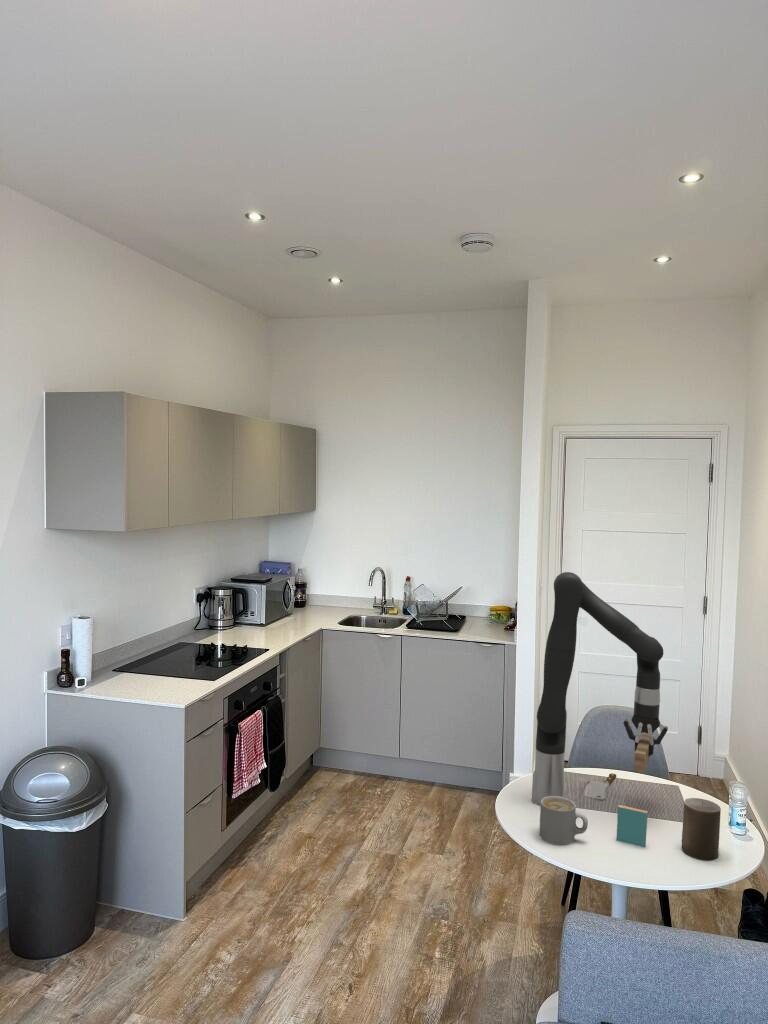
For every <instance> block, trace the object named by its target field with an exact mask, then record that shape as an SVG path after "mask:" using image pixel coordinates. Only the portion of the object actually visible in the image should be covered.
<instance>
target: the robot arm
mask: <svg viewBox="0 0 768 1024" xmlns="http://www.w3.org/2000/svg"><path fill="white" fill-rule="evenodd" d="M553 591H554V604H553V605H554V608H553V609H554V610H553V617H552V621H551V624H550V627H549V630H548V635H547V638H546V642H545V643H546V645H545V649H544V650H545V651H544V661H543V685H542V686H543V689H542V695H541V699H540V703H539V705H538V708H537V711H536V720H537V721H536V722H537V725H536V737H535V739H536V740H535V758H534V760H535V761H534V762H535V763H534V771H533V773H532V786H531V787H532V788H531V802H532V803H535V804H537V805H538V806H540V807H541V800H542V799H543V798H544V797H548V796H559V797H564V778H565V777H564V776H565V756H566V755H565V754H566V741H567V740H566V739H567V738H566V737H567V736H566V734H567V719H568V718H567V715H568V713H567V709H566V703H567V694H568V689H569V684H570V680H571V677H572V672H573V667H574V663H575V655H576V651H577V650H576V649H577V648H576V647H577V637H578V636H577V635H578V633H577V631H578V630H577V629H578V616H579V612H580V609H582V610H583V611H585V613H587V614H588V615H590V616H591V617H592V618H593V619H594V620H595V621H596V622H597V623H598V624H599V625H601V627H603V628H604V629H605V630H606V631H607V632H608V633H610V634H611V635H613V636H614V637H615V638H617V639H618V640H619V641H620V642H622V644H625V645H626V646H628V648H629V649H631V650H632V651H633V652H634V653H635V654H636V666H637V667H636V668H637V671H636V680H635V681H636V682H635V690H634V698H633V699H634V701H633V715H632V717H631V718H629V719H627V718H625V719H624V721H623V722H622V723H623V726H624V728H625V731H626V733H627V735H628V738H629V740H632V741H634V752H635V751H636V749H637V746H638V744H639V741H640V739H641V736H642V734H643V733H647V734H648V736H649V743H650V744H649V755H648V756H650V758H651V756H653V754H654V751H655V750H654V749H655V745H660V744H661V742H662V741H663V739H664V737H665V736H666V734H667V732H668V730H669V728H668V726H666V725H664V724H662V723H661V721H660V703H661V692H660V689H661V673H660V668H659V667H660V666H659V663H660V660H662V658H663V657H664V648H663V646H662V644H661V643H660V642H659V640H657V639H656V638H655V637H653V636H651V635H648V634H647V633H646V632H644V631H643V630H641V629H640V628H639V626H638V625H637V624H636V623H634V622H633V621H632V620H631V619H629V618H628V617H627V616H625V615H624V614H623V613H621V612H620V611H618V610H617V609H615V608H614V607H613V606H611V605H609V603H607V602H605V601H604V600H603V599H602V598H600V597H599V596H598V595H597V594H595V593H594V592H593V591H592V590H591V589H590V588H589V587H588V586H587V585H586V584H585V583H584V582H583V581H582V579H581V577H580V576H579V575H577V574H576V573H574V572H571V571H563V572H561V573H559V574H558V575H557V576H556V577H555V579H554V583H553ZM632 723H633V725H634V727H635V729H636V734H634V731H633V730H632ZM657 729H659V732H660V733H659V734H658V736H657V738H655V733H654V732H655V731H656V730H657Z"/></svg>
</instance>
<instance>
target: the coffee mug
mask: <svg viewBox="0 0 768 1024" xmlns="http://www.w3.org/2000/svg"><path fill="white" fill-rule="evenodd" d="M576 806H577V805H576V803H575V802H573V800H571V799H569V798H566V797H564V796H563V797H559V796H548V797H544V798H543V799H542V800H541V806H540V808H539V809H540V814H539V832H538V833H539V837H540V839H541V840H543V841H544V842H546V843H548V844H551V845H555V846H568V845H571V844H573V843H574V842H575V836H576V835H581V834H584V833H585V832H586V831H587V829H588V818H587V816H586V814H584V813H582V812H580V811H577V810H576V809H577V807H576ZM577 819H581V821H582V827H579V826H578V825H577Z"/></svg>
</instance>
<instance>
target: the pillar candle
mask: <svg viewBox="0 0 768 1024" xmlns="http://www.w3.org/2000/svg"><path fill="white" fill-rule="evenodd" d="M721 812H722V809H721V806H720V805H719V804H717V803H716V802H714V801H712V800H709V799H704V798H700V797H699V798H698V797H688V798H685V799H684V803H683V816H682V817H683V818H682V820H683V821H682V829H681V830H682V831H681V849H682V851H683V853H685V854H686V855H688V856H690V857H692V858H695V859H697V860H701V861H702V860H703V861H704V860H705V861H714V860H717V859H718V857H719V847H720V830H721V829H720V828H721Z"/></svg>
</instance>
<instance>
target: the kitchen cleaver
mask: <svg viewBox="0 0 768 1024" xmlns="http://www.w3.org/2000/svg"><path fill="white" fill-rule="evenodd" d="M616 778H617V774H616V773H609V775H608V777H606V780H604V781H598V780H597V781H595V780H589V781H590V782H591V783H590V785H591V786H590V787H591V789H590V794H589V795H590V796H589V795H588V796H589V797H590V798H589V799H591V798H594V799H593V800H596V799H597V800H596V801H600V800H601V801H600V802H603V801H602V800H604V801H606V792H607V789H609V787H610V786H611V784H612V783H613V782H614V781H615V780H616ZM599 797H600V798H599Z"/></svg>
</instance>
